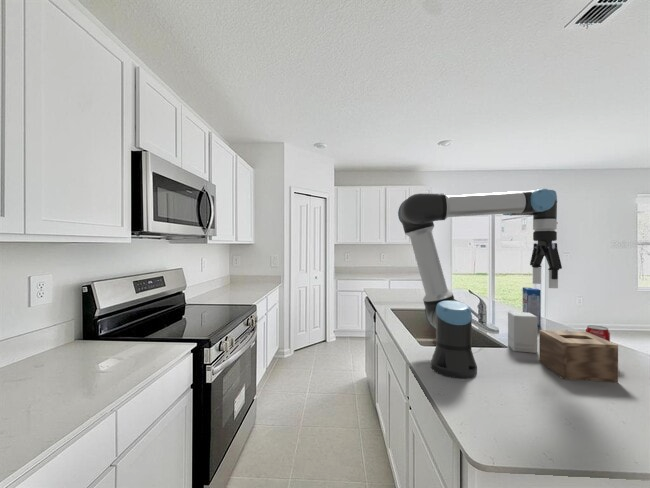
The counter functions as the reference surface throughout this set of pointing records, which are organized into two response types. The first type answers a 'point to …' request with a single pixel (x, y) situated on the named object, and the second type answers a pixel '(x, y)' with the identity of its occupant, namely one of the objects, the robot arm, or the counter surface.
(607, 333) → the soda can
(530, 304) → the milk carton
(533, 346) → the supplement box
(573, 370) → the coin box
